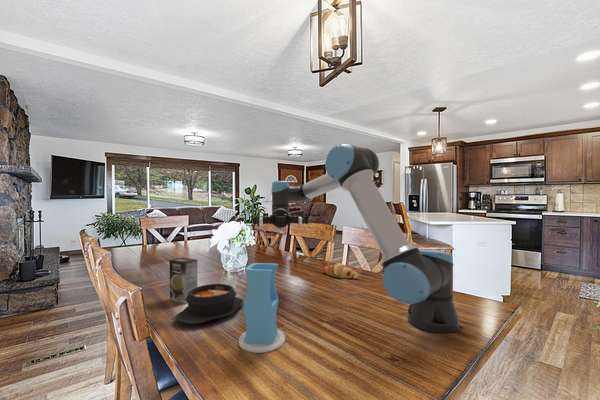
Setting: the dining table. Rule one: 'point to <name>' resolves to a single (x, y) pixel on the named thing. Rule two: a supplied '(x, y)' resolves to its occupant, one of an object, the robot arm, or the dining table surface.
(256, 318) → the vase
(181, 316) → the casserole
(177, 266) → the coffee box
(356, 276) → the croissant
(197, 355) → the dining table surface
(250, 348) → the plate
